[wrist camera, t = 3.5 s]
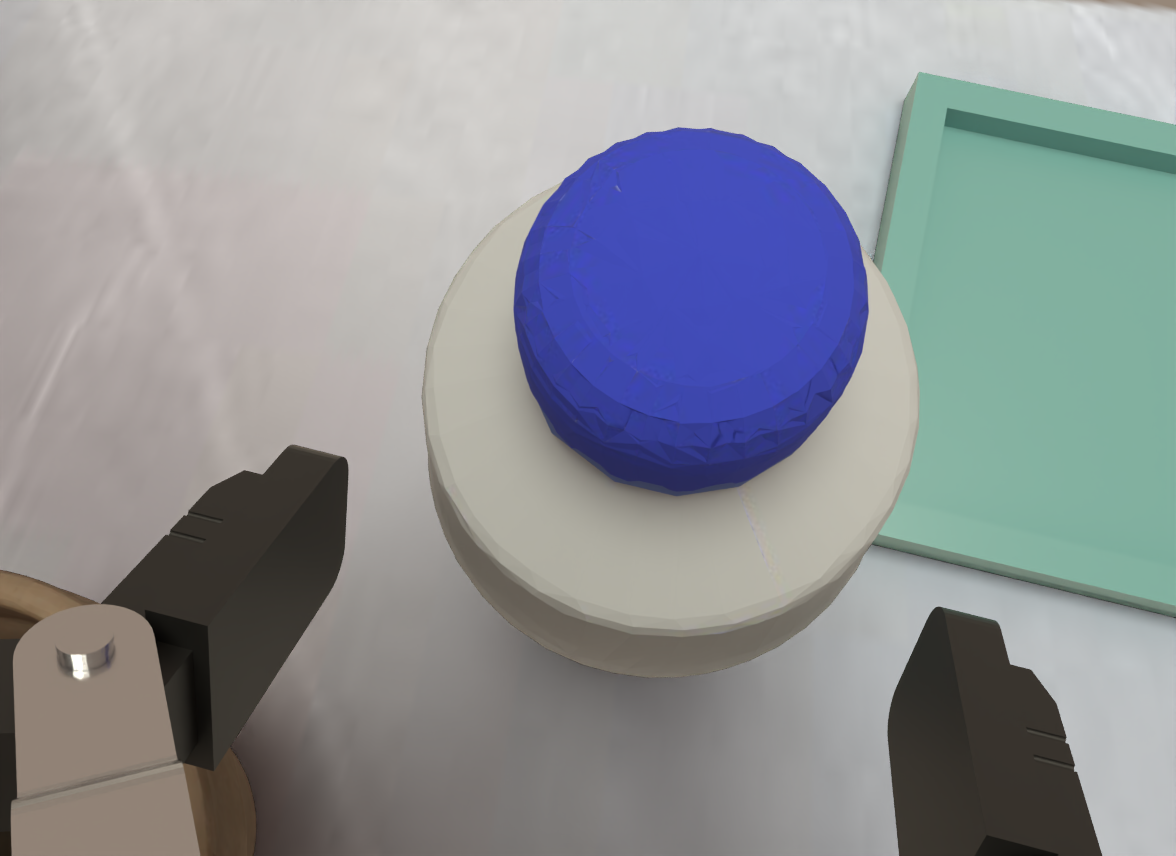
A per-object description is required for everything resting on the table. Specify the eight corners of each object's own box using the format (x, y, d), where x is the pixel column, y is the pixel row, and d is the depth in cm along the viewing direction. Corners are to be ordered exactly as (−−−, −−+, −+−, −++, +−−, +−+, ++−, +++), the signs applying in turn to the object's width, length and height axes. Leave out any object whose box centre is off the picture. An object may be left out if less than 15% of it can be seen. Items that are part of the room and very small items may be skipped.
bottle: (555, 411, 29) (463, -150, 10) (779, 483, 28) (1167, 37, 9) (476, 636, 27) (171, 510, 8) (711, 717, 27) (1003, 794, 7)
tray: (821, 531, 28) (833, 523, 26) (904, 100, 31) (919, 72, 30) (1334, 655, 27) (1377, 654, 25) (1363, 196, 30) (1401, 171, 29)
